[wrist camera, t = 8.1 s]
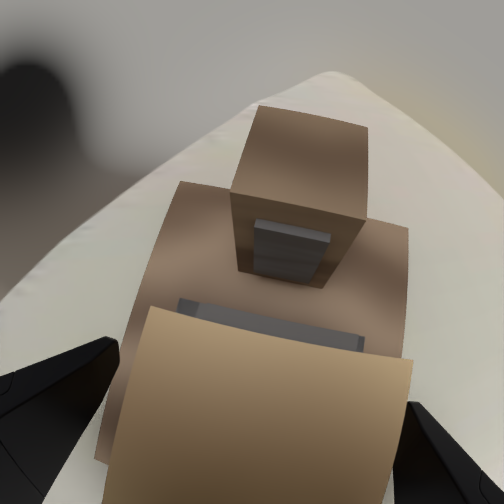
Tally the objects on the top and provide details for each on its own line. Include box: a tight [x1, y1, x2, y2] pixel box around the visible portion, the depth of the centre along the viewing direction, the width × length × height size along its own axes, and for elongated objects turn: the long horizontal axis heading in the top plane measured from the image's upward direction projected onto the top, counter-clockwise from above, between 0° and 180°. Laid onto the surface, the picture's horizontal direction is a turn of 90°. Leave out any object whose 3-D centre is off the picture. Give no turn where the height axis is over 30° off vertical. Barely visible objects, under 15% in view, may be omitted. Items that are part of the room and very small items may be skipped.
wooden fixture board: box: [94, 105, 408, 465], centre depth 14 cm, size 19×16×10 cm
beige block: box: [102, 303, 413, 504], centre depth 10 cm, size 5×4×13 cm
